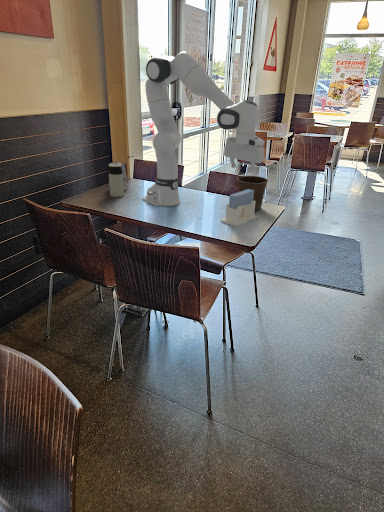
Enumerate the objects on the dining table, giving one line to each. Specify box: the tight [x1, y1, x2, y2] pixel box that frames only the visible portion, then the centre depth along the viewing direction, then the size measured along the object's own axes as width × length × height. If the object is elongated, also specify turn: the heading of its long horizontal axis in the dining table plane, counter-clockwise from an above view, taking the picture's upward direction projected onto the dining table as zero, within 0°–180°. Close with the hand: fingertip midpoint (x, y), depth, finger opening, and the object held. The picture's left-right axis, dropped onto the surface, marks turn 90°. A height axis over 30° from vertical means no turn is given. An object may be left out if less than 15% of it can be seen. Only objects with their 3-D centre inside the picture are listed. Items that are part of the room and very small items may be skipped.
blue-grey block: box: [228, 189, 254, 209], centre depth 169 cm, size 4×16×6 cm, turn 139°
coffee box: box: [110, 161, 129, 191], centre depth 214 cm, size 9×6×16 cm
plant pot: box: [236, 175, 269, 212], centre depth 188 cm, size 16×16×16 cm
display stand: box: [220, 200, 259, 228], centre depth 171 cm, size 10×18×9 cm, turn 139°
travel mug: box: [107, 163, 125, 198], centre depth 201 cm, size 8×8×18 cm
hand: (241, 169), depth 165 cm, fingers open, 8 cm apart
